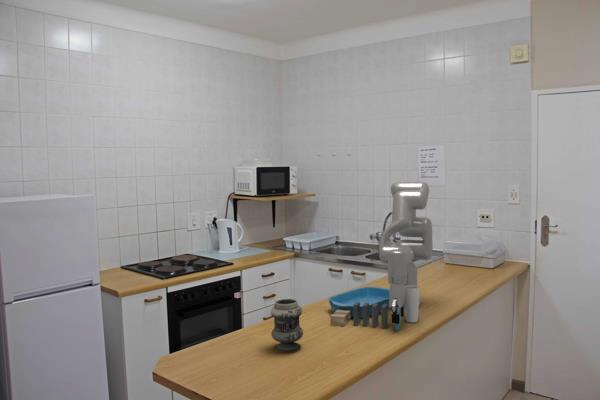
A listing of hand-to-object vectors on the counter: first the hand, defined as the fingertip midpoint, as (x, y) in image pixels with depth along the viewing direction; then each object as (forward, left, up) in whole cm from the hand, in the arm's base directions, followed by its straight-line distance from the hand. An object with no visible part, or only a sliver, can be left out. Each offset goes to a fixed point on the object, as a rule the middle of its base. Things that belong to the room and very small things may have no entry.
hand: (397, 319), depth 205 cm
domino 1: (0, -17, -4) cm, 18 cm away
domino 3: (0, -9, -4) cm, 10 cm away
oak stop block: (0, -25, -4) cm, 25 cm away
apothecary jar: (+35, -35, -4) cm, 50 cm away
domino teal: (0, 0, -4) cm, 4 cm away
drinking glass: (-11, +4, -4) cm, 12 cm away
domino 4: (0, -5, -4) cm, 7 cm away
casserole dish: (-22, -20, -4) cm, 30 cm away
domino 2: (0, -13, -4) cm, 14 cm away
